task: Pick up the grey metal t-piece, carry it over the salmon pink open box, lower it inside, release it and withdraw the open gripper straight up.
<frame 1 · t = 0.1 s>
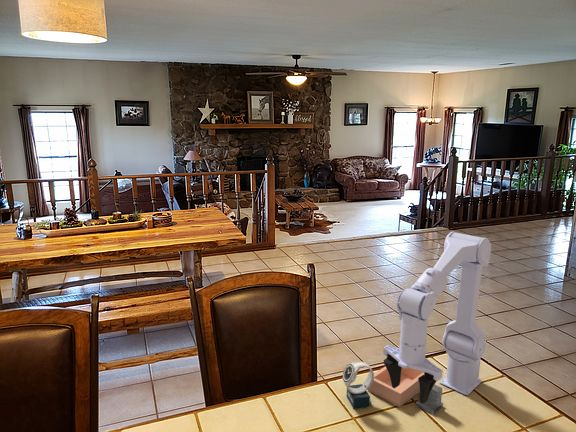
hand: (409, 393, 105), 10 cm above the kitchen counter, tool pointing down, fingers open, 7 cm apart
salmon pink open box: (397, 387, 123), on the kitchen counter
grey metal t-piece: (429, 406, 116), on the kitchen counter
watch: (357, 402, 118), on the kitchen counter
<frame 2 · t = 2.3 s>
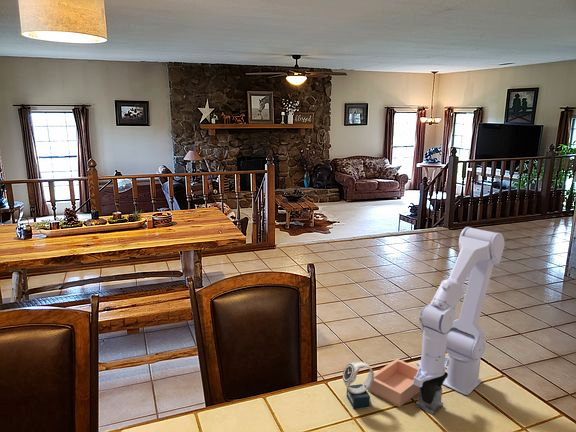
hand: (429, 399, 115), 2 cm above the kitchen counter, tool pointing down, fingers closed on grey metal t-piece, 2 cm apart
grey metal t-piece: (429, 406, 116), on the kitchen counter, touching gripper
everything else where it was.
when the fingers open (4 cm above the kitchen counter, at t = 5.1 s): grey metal t-piece stays where it is, resting on salmon pink open box.
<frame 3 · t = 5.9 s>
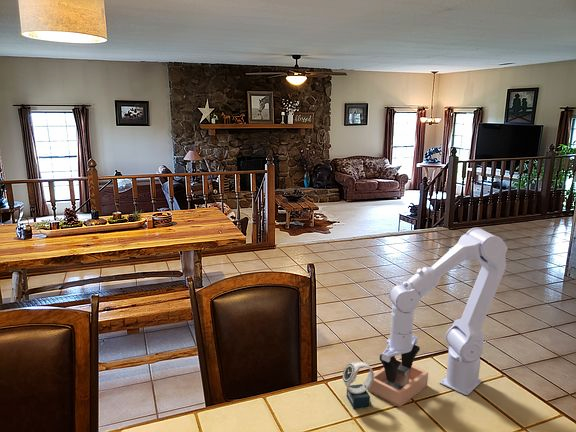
hand: (398, 375, 123), 4 cm above the kitchen counter, tool pointing down, fingers open, 7 cm apart
grey metal t-piece: (398, 386, 123), resting on salmon pink open box
everything else where it was.
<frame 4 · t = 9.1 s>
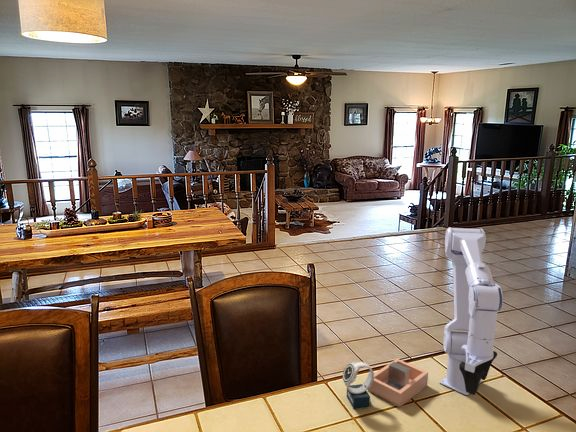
hand: (475, 385, 109), 9 cm above the kitchen counter, tool pointing down, fingers open, 7 cm apart
nothing on the kitchen counter moved.
at the end: grey metal t-piece 0.1 cm off-centre on the salmon pink open box, point 0.5 cm above the salmon pink open box's base; grey metal t-piece tilted 0°; the gripper is holding nothing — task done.
